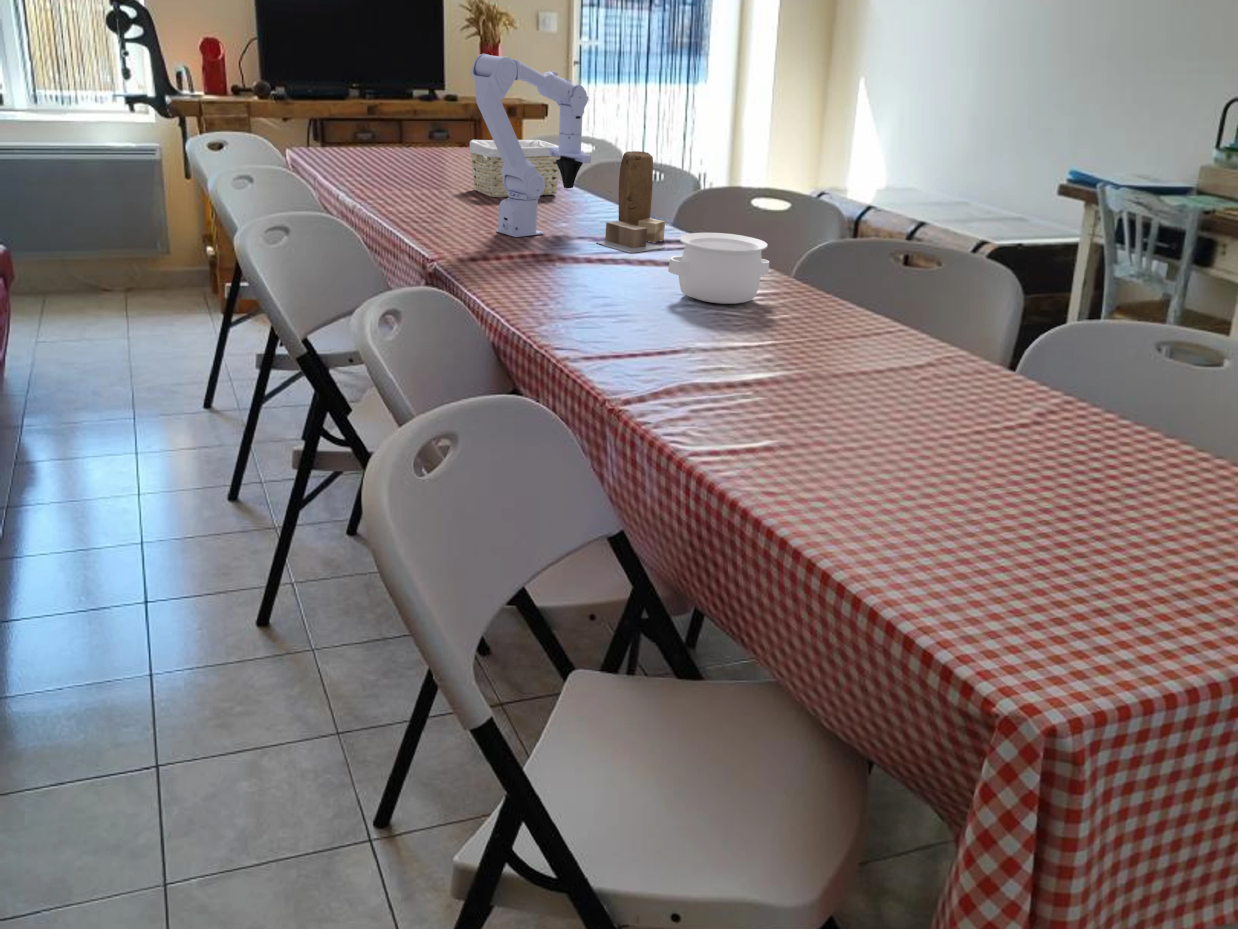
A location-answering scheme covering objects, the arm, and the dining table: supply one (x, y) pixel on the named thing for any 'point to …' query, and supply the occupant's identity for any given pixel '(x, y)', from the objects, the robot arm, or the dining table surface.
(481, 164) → the storage basket
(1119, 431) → the dining table surface
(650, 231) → the oak cube
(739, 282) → the pot
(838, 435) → the dining table surface
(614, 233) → the walnut pillar
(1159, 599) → the dining table surface
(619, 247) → the mat
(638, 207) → the block
